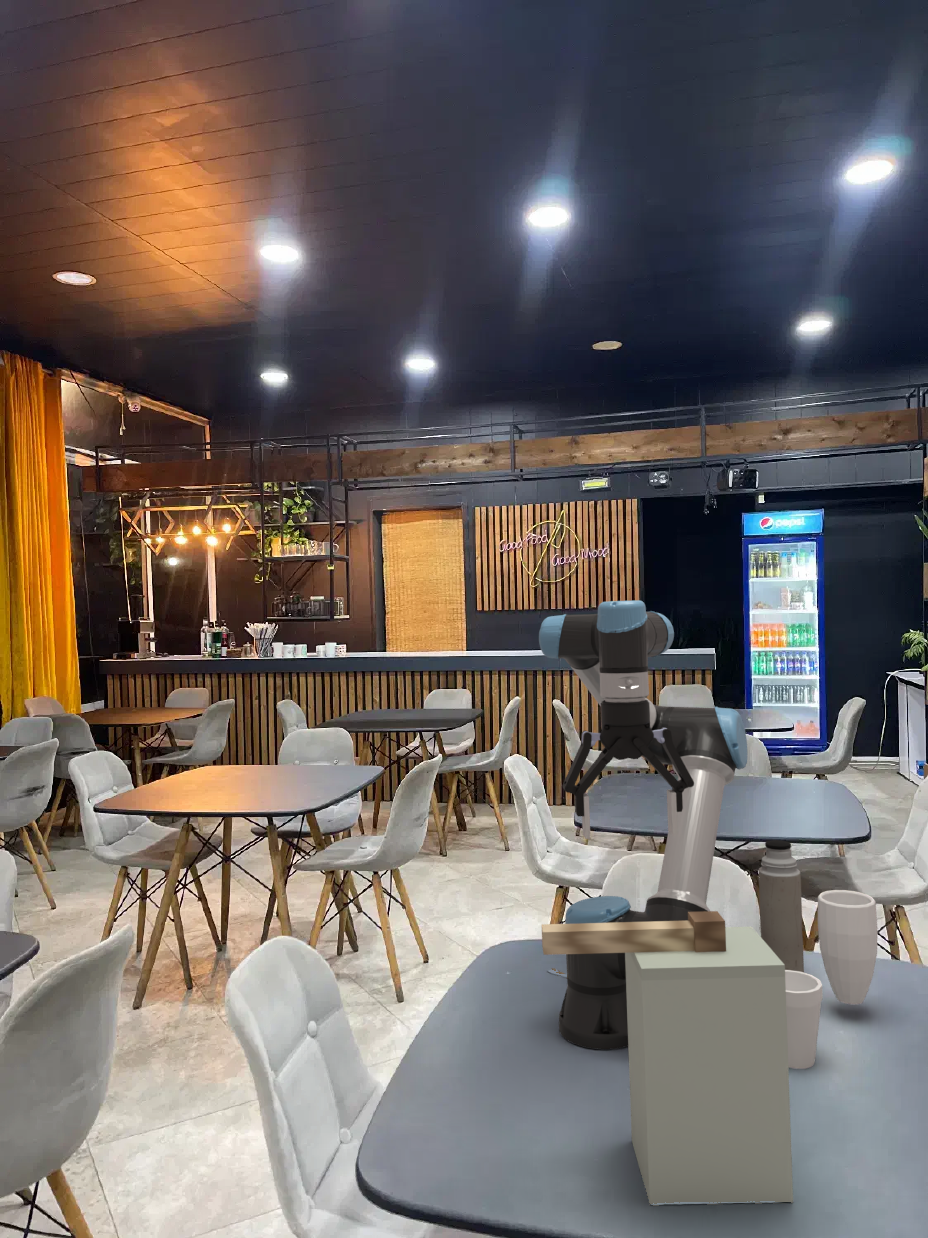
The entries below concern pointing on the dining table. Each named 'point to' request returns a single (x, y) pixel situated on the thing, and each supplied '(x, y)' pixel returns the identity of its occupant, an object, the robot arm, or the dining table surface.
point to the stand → (710, 1072)
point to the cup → (848, 942)
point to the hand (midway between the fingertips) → (629, 835)
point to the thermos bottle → (781, 904)
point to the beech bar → (637, 936)
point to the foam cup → (802, 1017)
